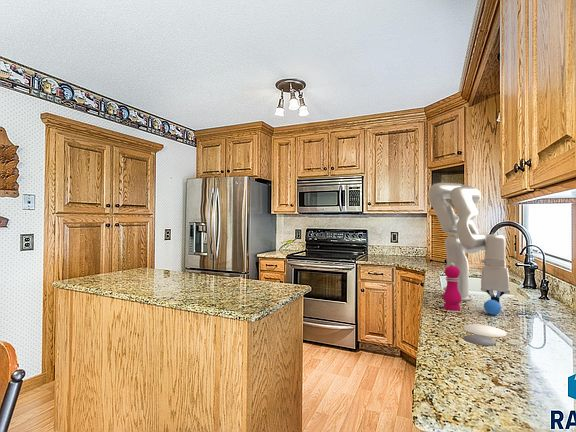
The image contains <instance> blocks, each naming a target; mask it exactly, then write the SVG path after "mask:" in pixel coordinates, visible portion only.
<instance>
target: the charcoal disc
mask: <svg viewBox="0 0 576 432" xmlns="http://www.w3.org/2000/svg"><path fill="white" fill-rule="evenodd" d="M463 340H464V341H465V342H467V343H470V344H474V345H477V346H485V347H492V346H496V345H497V341H495V340H494V339H492V338H491V337H486V336H480V335H476V334H466V335H464V336H463Z"/></svg>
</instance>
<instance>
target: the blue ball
mask: <svg viewBox="0 0 576 432" xmlns="http://www.w3.org/2000/svg"><path fill="white" fill-rule="evenodd" d="M483 310H484V311H485V312H486V313H487V314H488V315H492V316H496V315H499V314H500V313H501V311H502V306H501V303H500V302H499V303H498V302H497V301H495V300H491V299H487V300H486V301H485V302H484V304H483Z"/></svg>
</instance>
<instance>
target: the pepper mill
mask: <svg viewBox="0 0 576 432" xmlns="http://www.w3.org/2000/svg"><path fill="white" fill-rule="evenodd" d="M454 265H455V264H454V263H450V266H448V267H447V266H446V267H445V269H444V274H445V280H446V286H447V287H446V286H445V287H446V290H444V292H443V295H442V300H443V301H444V303H443V308H444V309H446V310H449V311H455V312H457V311H460V310H461V305H460V304H461V302H462V300H461V295H460V293H459V291H458V287H457V283H458V281H459V280H458V279H459V278H458V276H459V275H460V270H459V269H458V268H457V267H455V266H454Z"/></svg>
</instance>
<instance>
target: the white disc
mask: <svg viewBox="0 0 576 432" xmlns="http://www.w3.org/2000/svg"><path fill="white" fill-rule="evenodd" d="M462 329H463V330H464V331H466V332H468V333H470V334H472V335H479V336H484V337H488V338H504V337H507V334H508V333H507V332H506V331H505V330H503V329H501V328H498V327H495V326H491V325H485V324H481V323H479V324H478V323H469V324H465V325H463V326H462Z"/></svg>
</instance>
